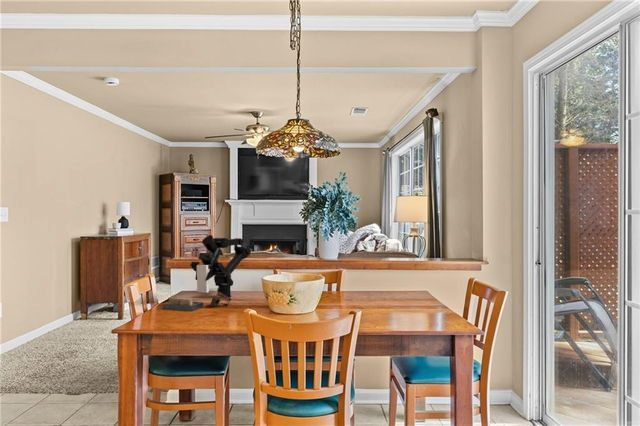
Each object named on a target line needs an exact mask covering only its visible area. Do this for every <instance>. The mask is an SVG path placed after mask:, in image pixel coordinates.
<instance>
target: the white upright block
mask: <svg viewBox="0 0 640 426" xmlns="http://www.w3.org/2000/svg"><path fill="white" fill-rule="evenodd" d="M208 273H209V269H208V265H197V280H196V292H197V293H206V294H207V293H209V288H210V287H209V286H210V285H209V280H207V281H206V277H207V275H208Z"/></svg>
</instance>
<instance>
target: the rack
mask: <svg viewBox="0 0 640 426" xmlns="http://www.w3.org/2000/svg"><path fill="white" fill-rule="evenodd" d="M204 308H205V306H204V301H192V305H182V304H169V301H167V302H164V303H162V310H164V311H165V310H166V311H177V312H178V311H180V312H181V311H182V312H195V311H197V310H201V309H204Z"/></svg>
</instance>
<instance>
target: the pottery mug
mask: <svg viewBox="0 0 640 426" xmlns="http://www.w3.org/2000/svg"><path fill="white" fill-rule="evenodd" d="M221 300H223V301H226V302H227V307H228V306H231V301H232V298H231V297H228V296H227V295H225V294H223V293H218V294H217V293H216V294H214V296H213V297H212V299H211V301H210V305H209V306H210V307H211V308H212V307H214V308H218V306H219V304H220V302H221Z"/></svg>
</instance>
